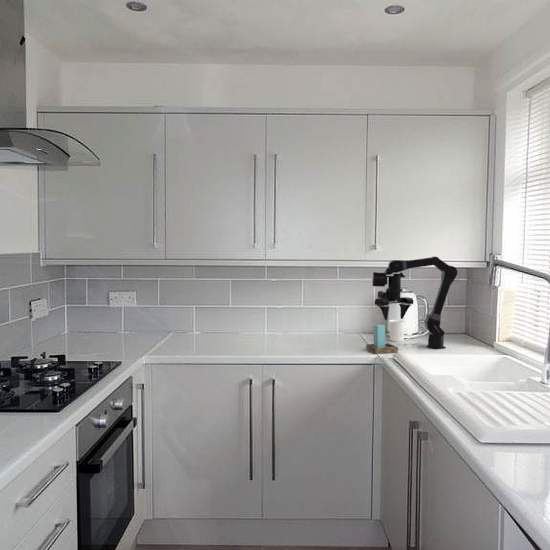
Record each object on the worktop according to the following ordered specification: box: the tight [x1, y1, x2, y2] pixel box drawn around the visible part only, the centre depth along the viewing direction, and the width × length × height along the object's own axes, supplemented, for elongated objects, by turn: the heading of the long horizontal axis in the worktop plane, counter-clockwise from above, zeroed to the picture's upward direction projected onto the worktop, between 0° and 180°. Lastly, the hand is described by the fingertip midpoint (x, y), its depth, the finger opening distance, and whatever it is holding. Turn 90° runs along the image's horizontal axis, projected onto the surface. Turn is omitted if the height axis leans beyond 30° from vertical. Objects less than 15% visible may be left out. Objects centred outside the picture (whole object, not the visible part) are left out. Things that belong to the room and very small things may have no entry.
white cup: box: [388, 319, 406, 343], centre depth 262 cm, size 8×8×10 cm
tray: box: [365, 342, 399, 355], centre depth 237 cm, size 11×10×2 cm
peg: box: [373, 323, 386, 348], centre depth 237 cm, size 4×4×12 cm
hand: (393, 319), depth 246 cm, fingers open, 9 cm apart
